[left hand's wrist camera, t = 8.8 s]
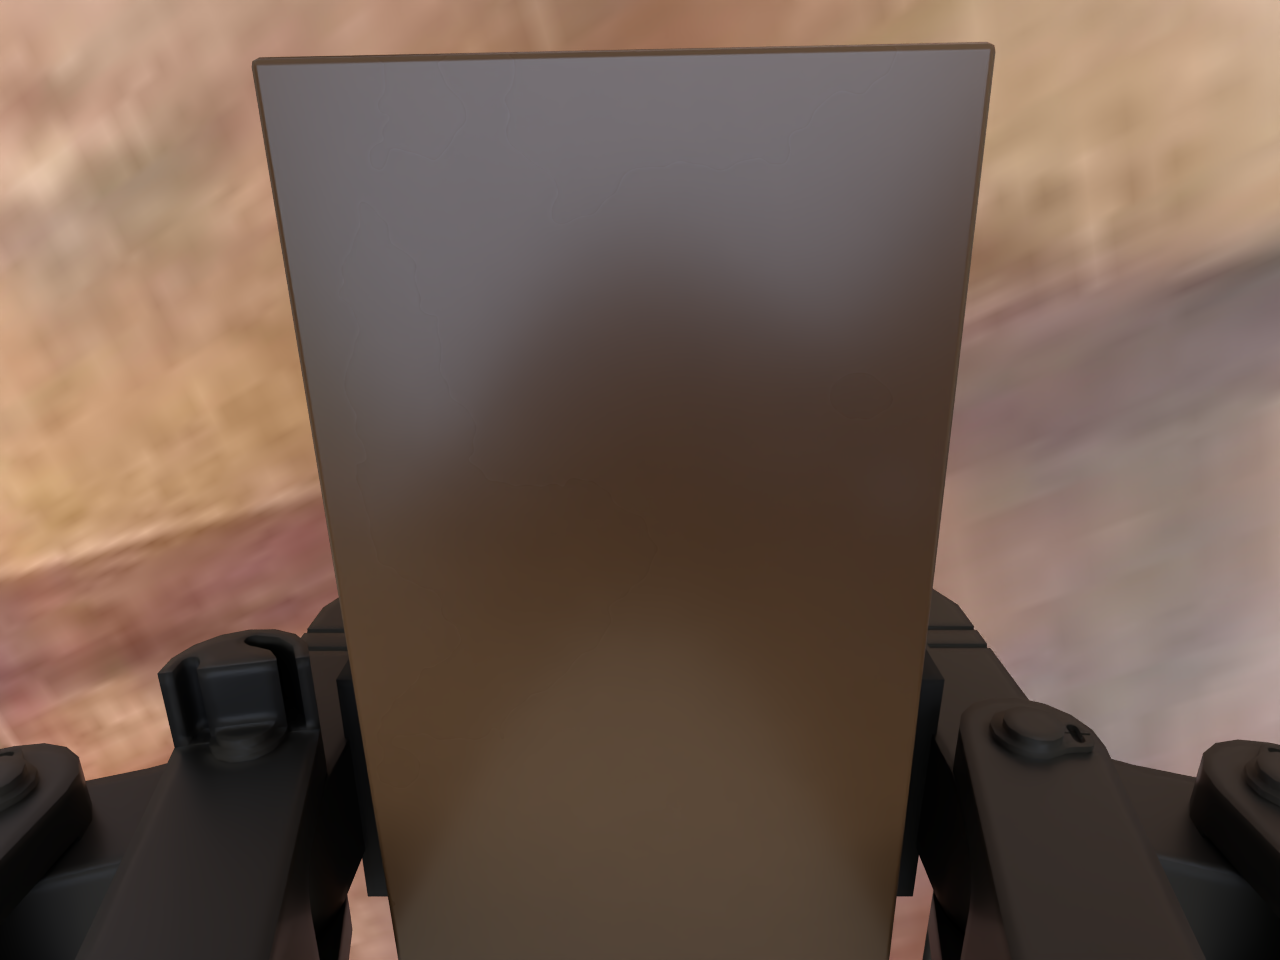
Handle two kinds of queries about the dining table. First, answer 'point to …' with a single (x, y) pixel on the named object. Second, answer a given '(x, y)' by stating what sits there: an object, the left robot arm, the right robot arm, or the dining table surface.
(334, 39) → the dining table surface
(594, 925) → the bar
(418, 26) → the dining table surface
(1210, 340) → the dining table surface
